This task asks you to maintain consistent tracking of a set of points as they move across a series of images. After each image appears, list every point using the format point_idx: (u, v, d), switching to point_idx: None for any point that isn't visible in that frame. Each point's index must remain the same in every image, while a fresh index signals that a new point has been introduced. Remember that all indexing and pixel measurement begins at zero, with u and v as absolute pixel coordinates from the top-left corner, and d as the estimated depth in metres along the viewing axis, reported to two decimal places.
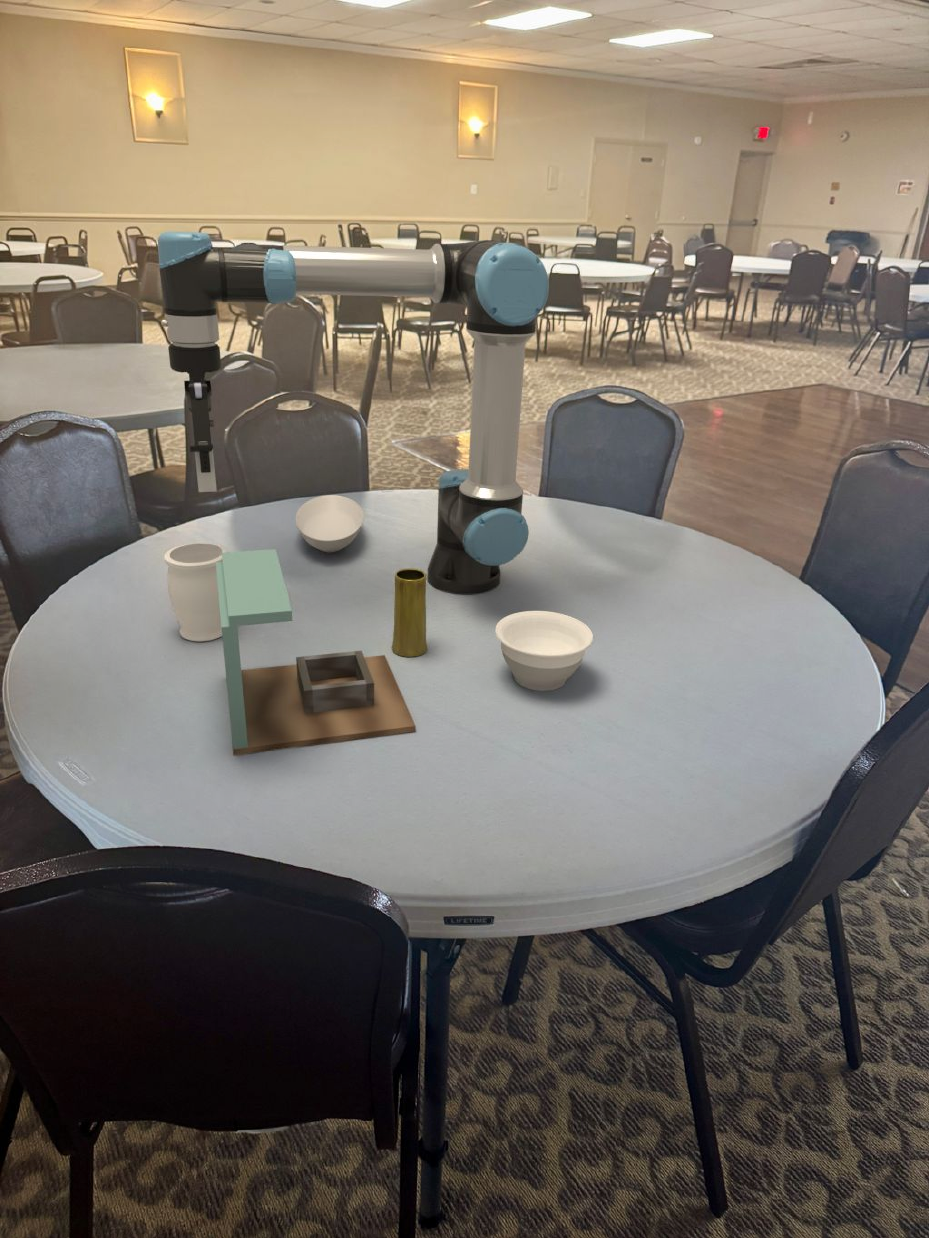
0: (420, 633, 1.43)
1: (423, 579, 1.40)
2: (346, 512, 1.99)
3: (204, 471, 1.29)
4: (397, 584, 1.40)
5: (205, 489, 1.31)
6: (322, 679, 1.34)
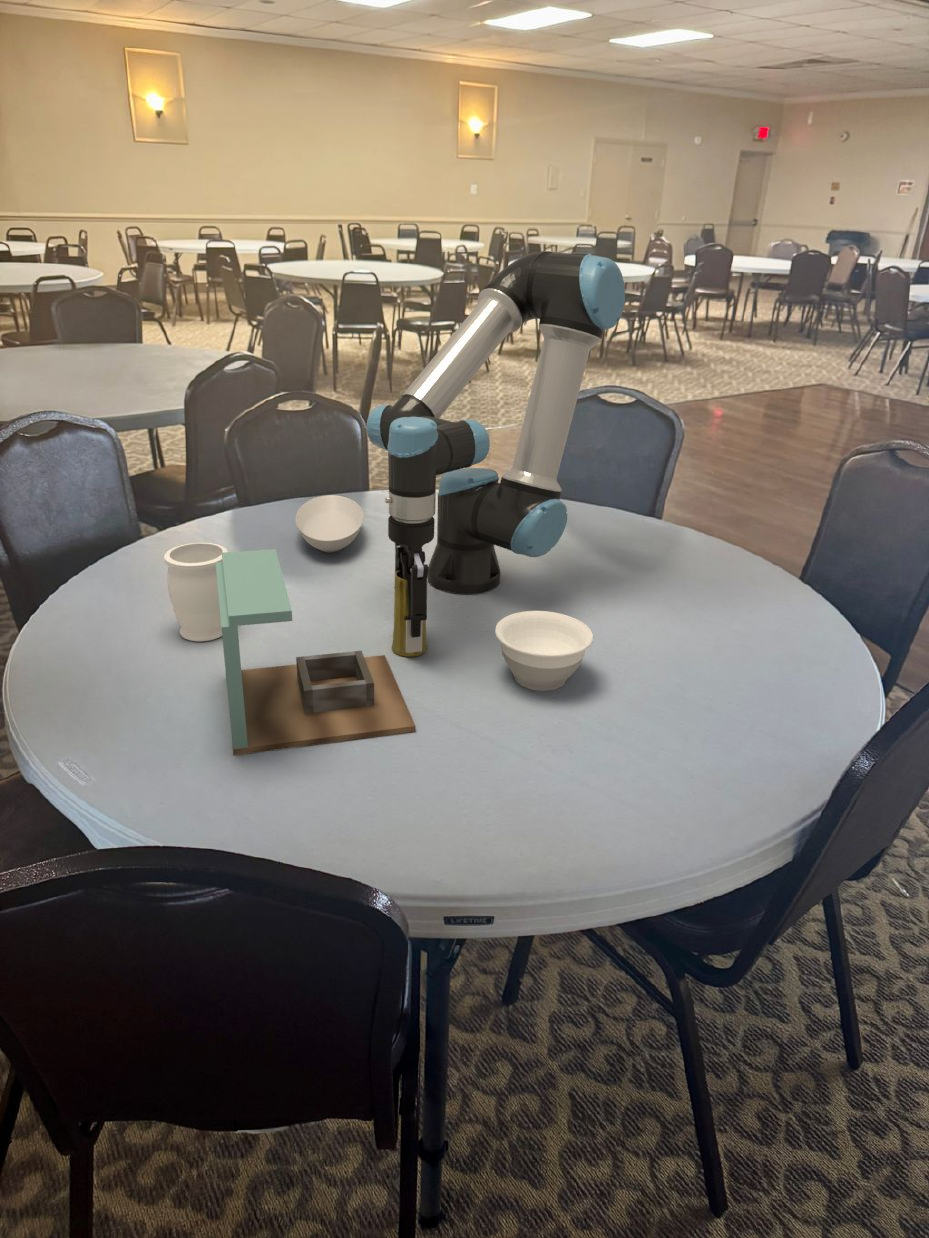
0: None
1: None
2: (346, 512, 1.99)
3: (415, 636, 1.41)
4: (397, 584, 1.40)
5: (412, 650, 1.43)
6: (322, 679, 1.34)
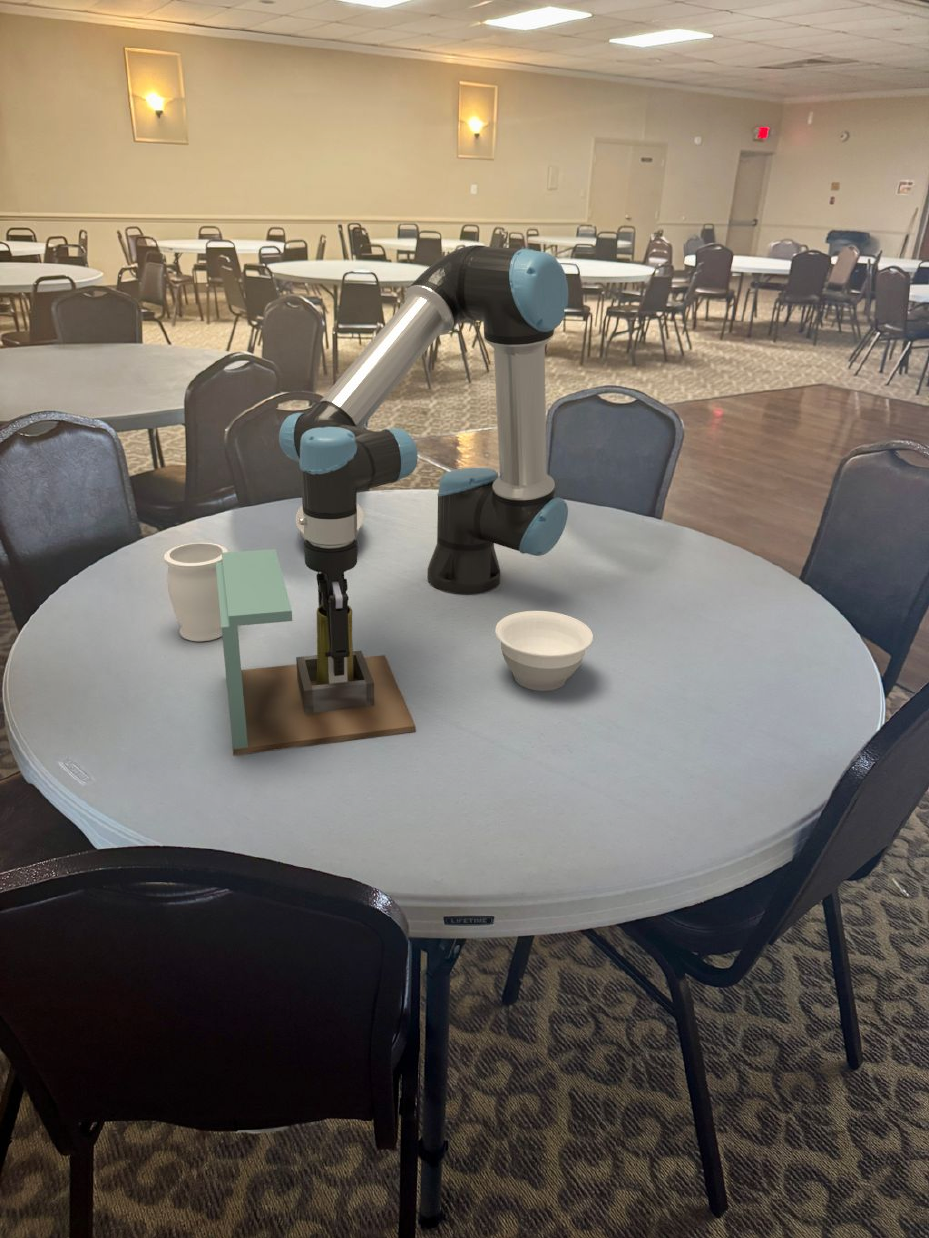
0: None
1: (348, 616, 1.24)
2: None
3: (338, 674, 1.24)
4: (319, 621, 1.24)
5: None
6: None
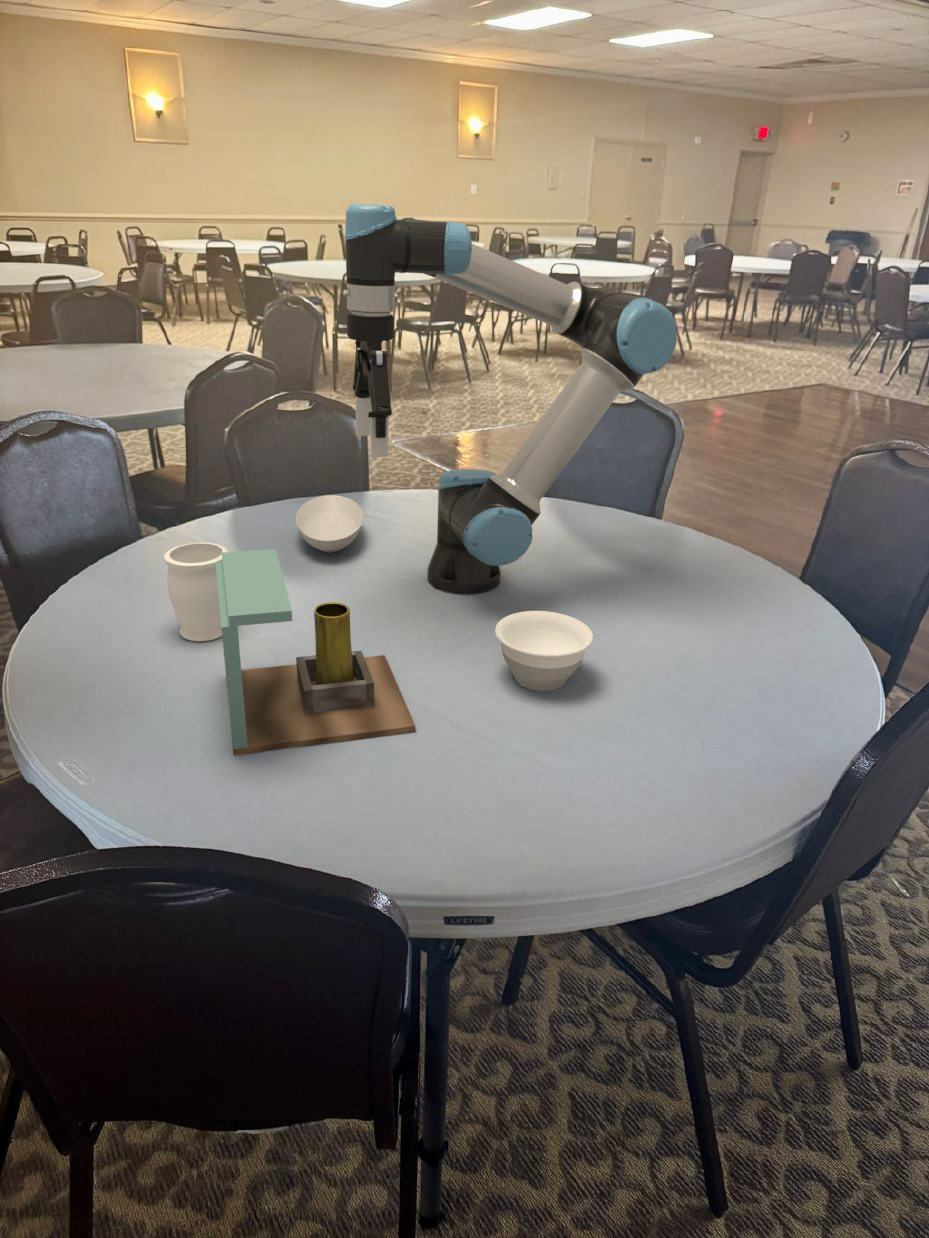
0: (345, 675, 1.28)
1: (346, 615, 1.24)
2: (346, 512, 1.99)
3: (380, 436, 1.34)
4: (316, 621, 1.24)
5: (378, 454, 1.36)
6: None
